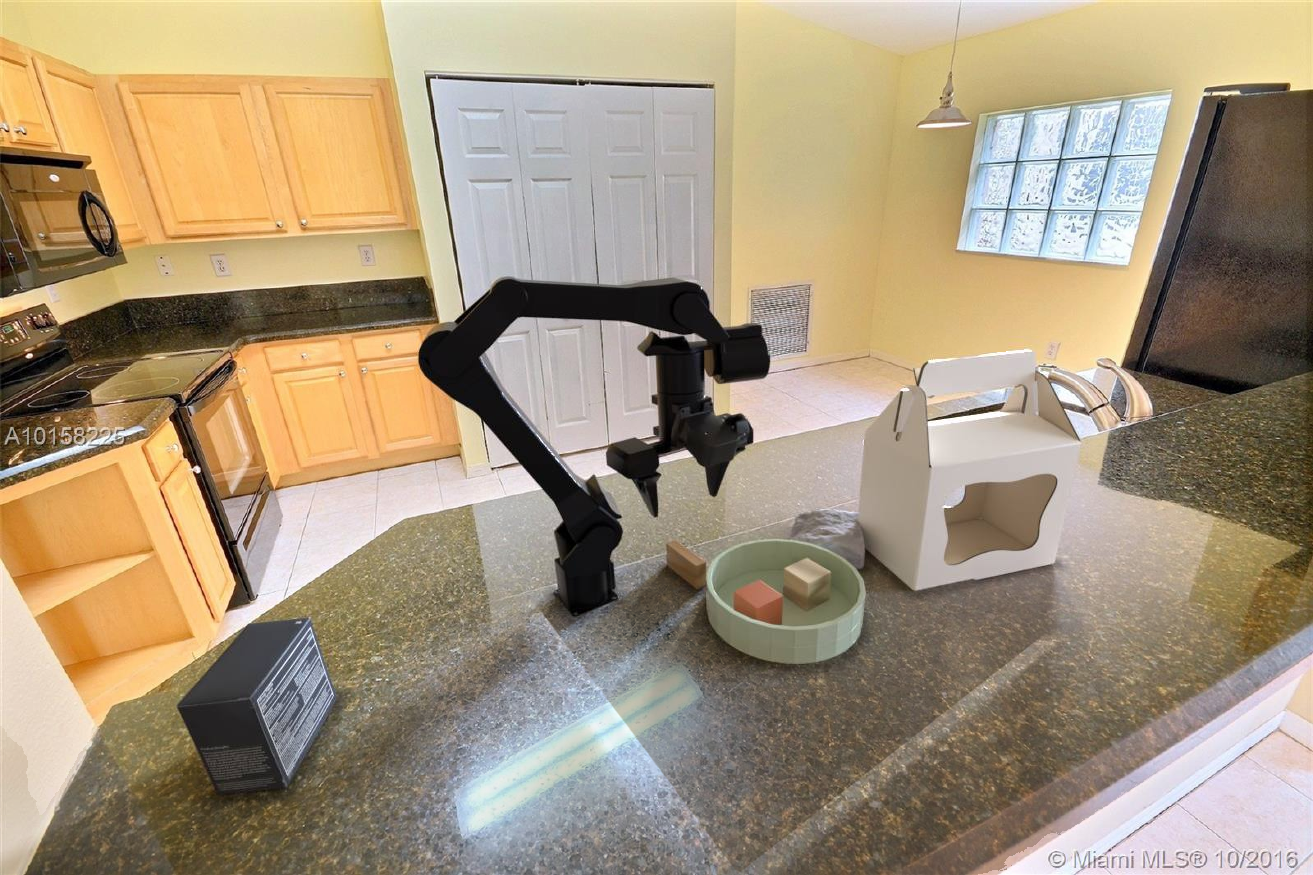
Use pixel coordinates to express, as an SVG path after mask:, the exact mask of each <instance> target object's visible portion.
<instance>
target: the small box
mask: <svg viewBox="0 0 1313 875" xmlns="http://www.w3.org/2000/svg"><path fill="white" fill-rule="evenodd" d="M338 698H339V697H338V695H337V692H336V689H335V686H334V684H333V681H332V679H331V676H330V673H329V670H328V667H327V664H326V661H325V659H324V654H323V652H322V649H321V646H320V643H319V640H318V637H317V634H316V631H315V628H314V625H313V621H312V619H311V617H310V616H306V617H298V618H288V619H279V620H269V621H261V622H259V621H258V622H251V623H247V625H246V626H245V627H244V628H243V629H242V630H241V632H240V633H239V634H238V635H237V636H236V637H235V638H234V640H233V641H232V642H231V643H230V644H229V645H228V647H226V649H225V650H224V651H223V652H222V653H221V655H219V657H218V658H217V659H216V660H215V661H214V662H213V663H212V665H210V667H209V668H208V669H207V670H206V672H205V673H204V674H203V675H201V677H200V678H199V679H198V681H197V682H196V683H195V684H194V685H193V686H192V688H190V690H189V691H188V692H186V694H185V695H184V696H183V698H181V700H180V701H179V702H178V703H177V704H176V706H175V707H176V709H177V710H178V712H179V715H180V716H181V719H182V721H183V723H184V725H185V728H186V729H187V732H188V734H189V736H190V738H191V740H192V742H193V745H194V746H195V749H196V751H197V753H198V756H199V757H200V760H201V762H202V764H203V766H204V768H205V770H206V773H207V775H208V778H209V779H210V782H211V784H212V786H213V788H214V791H215V793H216V795H218V796H222V795H233V794H242V793H251V792H261V791H272V790H281V789H286V788H288V786H290V783H291V782H292V780H293V778H294V777H295V775H296V773H297V771H298V769H299V767H300V766H301V765H302V762H303V760H304V759H305V757H306V755H307V753H308V752H309V750H310V748H311V747H312V744H313V743H314V741H315V739H316V737H317V736H318V735H319V732H320V730H321V728H322V727H323V725H324V724H325V721H326V720H327V718H328V716H329V715H330V712H331V711H332V709H333V707H334V705H335V704H336V702H337V700H338Z"/></svg>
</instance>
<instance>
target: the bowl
mask: <svg viewBox="0 0 1313 875" xmlns="http://www.w3.org/2000/svg"><path fill="white" fill-rule="evenodd" d="M805 558H808V559H810V560H811V561H813V562H815V563H817V564H818V565H820V566H822V567H823V568H825V569H827V570H829V571H830V572H831V584H830V598H829V600H828V601H826V602H824V603H822V604H820V605H818V606H816V607H814V608H812V609H810V610H809V611H805V610H804V609H802V608H801V607H799V606H798V605H796V604H795V603H793V602H792V601H790V600H789V599H787V598H786V597H784V596H783V579H784V568H786V567H788V566H790V565H792V564H794V563H797V562H799V561H801V560H803V559H805ZM707 567H708V568H707V570H706V585H705V608H706V609H705V610H706V613H707V618H708V622H709V623H710V625H711V627H712V629H713V630H714V631H715V633H716V634H717V635H718V636H719V637H720V638H721V639H722V640H723V641H724V642H726V643H727V644H728V645H730V646H731V647H733V648H734V649H736V650H738V651H739V652H742V653H743V654H745V655H748V656H751V657H753V658H757V659H760V660H764V661H767V662H771V663H778V664H786V665H787V664H788V665H803V664H813V663H818V662H823V661H827V660H829V659H832V658H835V657H837V656H839V655H840V654H843V653H844V652H845V651H847V650H849V649H850V648H851V647H852V646H853V645H854V644H855V643H856V642H857V640H858V639H859V637H860V635H861V631H862V628H863V624H864V614H865V604H866V595H867V594H866V593H867V590H866V585H865V582H864V578H863V576H862V575H861V574H860V572H859V571H858V569H856V568H855V567H854V566H853V565H851V564H850V563H849V562H848V561H847V560H846V559H844V558H843V557H841V556H839V555H837V554H835V553H834V552H832V551H830V550H828V549H825V548H822V547H819V546H817V545H814V544H810V543H806V542H801V541H796V540H790V539H785V538H765V539H755V540H751V541H746V542H741V543H738V544H736V545H734V546H731V547H728V548H726V549H725V550H724V551H722V552H721V553H720V554H718V555H717V556H716V557H714V559H713V560H712V561H711V563H710V564H709V565H708V566H707ZM758 580H760V581H762V582H763V583H765V584H766V585H768V586H769V587H771V588H772V589H773V590H775V591H776V592H778V593H779V594H781V595H782V596H783V609H782V625H773V624H769V623H765V622H761V621H758V620H754V619H751V618H749V617H747V616H745V615H742V614H740V613H738V612H736V611H734V591H736V590H738V589H741V588H743V587H745V586H747V585H749V584H751V583H753V582H756V581H758Z"/></svg>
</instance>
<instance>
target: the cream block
mask: <svg viewBox="0 0 1313 875" xmlns="http://www.w3.org/2000/svg"><path fill="white" fill-rule="evenodd" d="M830 584H831V572H830V571H829V570H827V569H825V568H823V567H822V566H820V565H818V564H817V563H815V562H813V561H811V560H810V559H808V558H805V559H803V560H801V561H799V562H797V563H794V564H792V565H790V566H788V567H786V568H784V579H783V596H784V597H786V598H787V599H789V600H790V601H792V602H793V603H795V604H796V605H798V606H799V607H801V608H802V609H804V610H805V611H809V610H810V609H812V608H814V607H816V606H818V605H820V604H822V603H824V602H826V601H828V600H829V598H830Z"/></svg>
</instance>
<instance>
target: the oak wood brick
mask: <svg viewBox="0 0 1313 875" xmlns="http://www.w3.org/2000/svg"><path fill="white" fill-rule="evenodd" d="M665 547H666V548H665V551H666V552H665V554H666V566H667V567H669V568H670V569H671V570H672V571H674V572H675V573H676V574H677V575H678V576H679V577H681V578H683V580H684V581H686V582H687V583H688V584H690V585H691V586H692V587H693V588H695V589H696V590H698V589H700V588H703V587H706V575H707V561H706V560H704V559H702V558H701V557H700V556H698V555H697V554H696V553H695V552H693V551H691V550H690V549H689V548H687V547H686V546H684V545H683V544H682V543H681V542H679V541H677V539H674V540H672V541H669V542H666V543H665Z"/></svg>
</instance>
